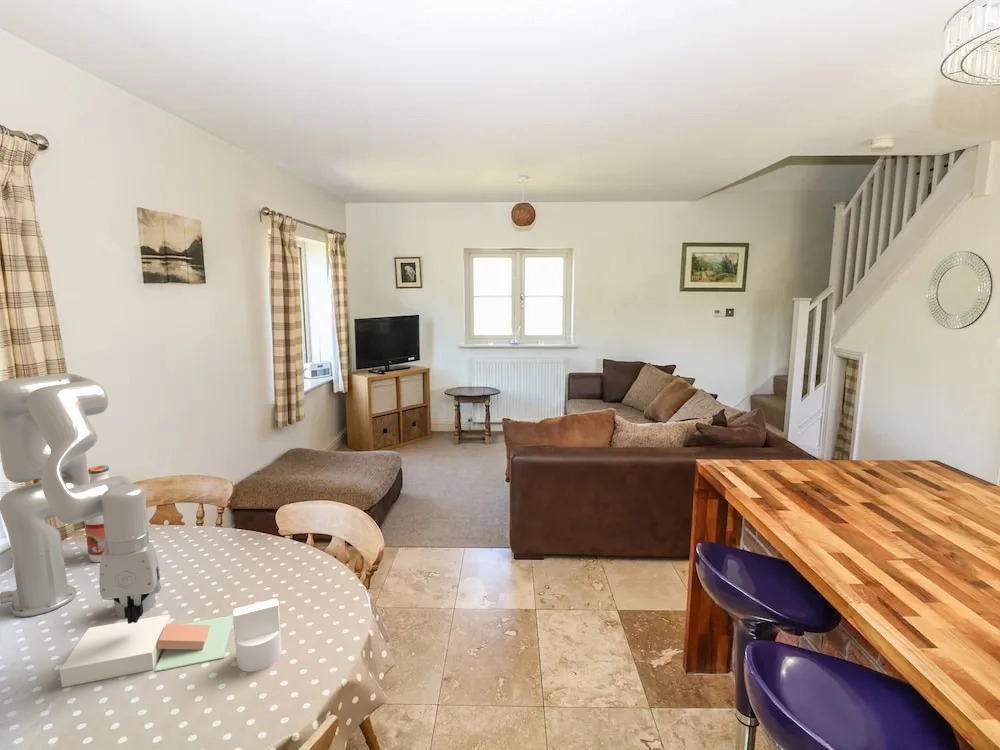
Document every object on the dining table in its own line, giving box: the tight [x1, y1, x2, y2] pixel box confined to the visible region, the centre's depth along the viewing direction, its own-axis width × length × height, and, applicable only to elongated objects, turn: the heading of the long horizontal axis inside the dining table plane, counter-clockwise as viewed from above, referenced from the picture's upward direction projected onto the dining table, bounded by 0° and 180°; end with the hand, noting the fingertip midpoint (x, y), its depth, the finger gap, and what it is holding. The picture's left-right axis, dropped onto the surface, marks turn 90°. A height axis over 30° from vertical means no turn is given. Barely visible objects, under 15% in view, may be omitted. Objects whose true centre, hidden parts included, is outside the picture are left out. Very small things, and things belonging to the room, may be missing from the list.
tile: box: [157, 623, 210, 650], centre depth 116 cm, size 9×6×2 cm, turn 109°
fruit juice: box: [83, 465, 110, 563], centre depth 155 cm, size 9×9×28 cm
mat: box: [154, 614, 234, 673], centre depth 118 cm, size 13×16×1 cm
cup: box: [113, 593, 157, 619], centre depth 130 cm, size 8×8×10 cm
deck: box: [59, 613, 172, 688], centre depth 113 cm, size 16×14×4 cm
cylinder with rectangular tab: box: [232, 598, 283, 673], centre depth 112 cm, size 9×9×12 cm
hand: (134, 619), depth 113 cm, fingers closed
